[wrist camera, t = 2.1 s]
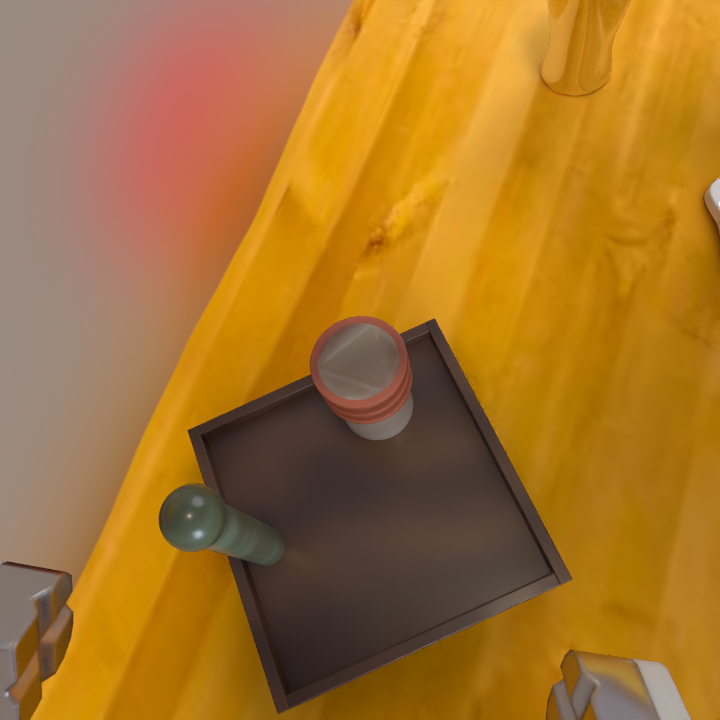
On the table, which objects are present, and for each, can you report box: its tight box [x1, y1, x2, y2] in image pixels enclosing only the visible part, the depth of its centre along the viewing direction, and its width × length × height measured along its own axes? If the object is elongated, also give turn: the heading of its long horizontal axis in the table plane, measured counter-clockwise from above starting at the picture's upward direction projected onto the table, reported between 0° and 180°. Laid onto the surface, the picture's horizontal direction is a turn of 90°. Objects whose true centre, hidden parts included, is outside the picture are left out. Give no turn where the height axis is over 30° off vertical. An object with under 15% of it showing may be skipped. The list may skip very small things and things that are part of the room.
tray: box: [159, 316, 572, 714], centre depth 40 cm, size 20×20×16 cm
